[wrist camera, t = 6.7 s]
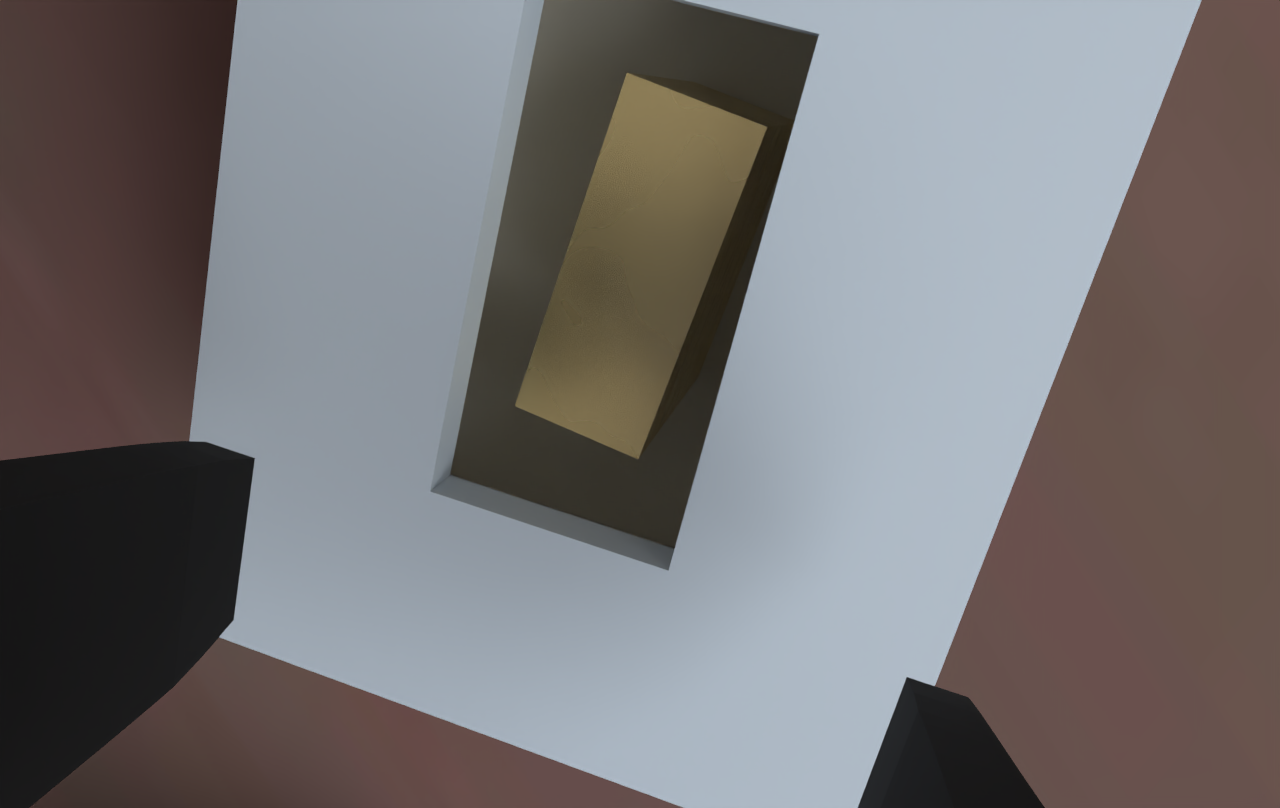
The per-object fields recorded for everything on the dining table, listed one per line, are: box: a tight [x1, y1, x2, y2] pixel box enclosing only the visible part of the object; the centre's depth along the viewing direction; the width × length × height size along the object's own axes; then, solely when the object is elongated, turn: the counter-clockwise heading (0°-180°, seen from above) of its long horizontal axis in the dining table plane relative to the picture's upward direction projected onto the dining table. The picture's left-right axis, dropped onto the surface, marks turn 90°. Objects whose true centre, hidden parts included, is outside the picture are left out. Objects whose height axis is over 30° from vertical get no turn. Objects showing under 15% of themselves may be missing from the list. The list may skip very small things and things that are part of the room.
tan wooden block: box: [515, 73, 795, 459], centre depth 17 cm, size 5×2×5 cm, turn 160°
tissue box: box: [190, 0, 1201, 808], centre depth 16 cm, size 14×11×7 cm
